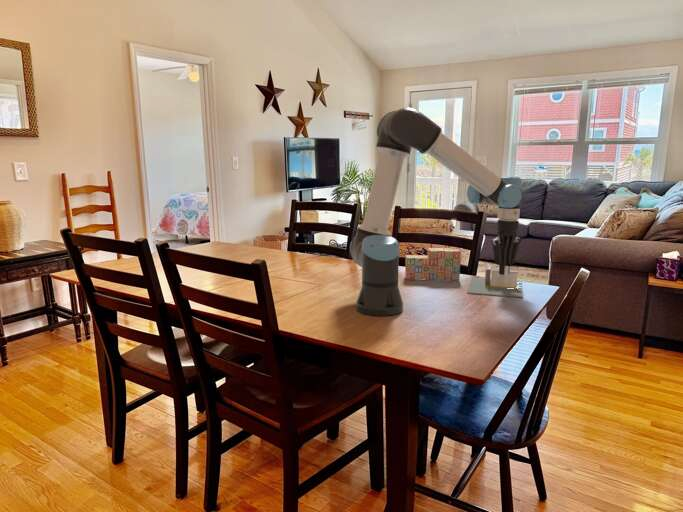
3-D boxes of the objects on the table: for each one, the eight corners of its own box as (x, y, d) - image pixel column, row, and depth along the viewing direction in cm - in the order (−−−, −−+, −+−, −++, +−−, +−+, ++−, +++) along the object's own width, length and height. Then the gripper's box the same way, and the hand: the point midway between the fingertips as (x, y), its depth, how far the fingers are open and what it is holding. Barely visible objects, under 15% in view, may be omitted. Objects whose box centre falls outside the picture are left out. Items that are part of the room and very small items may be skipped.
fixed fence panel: (489, 286, 183) (490, 269, 182) (485, 285, 183) (486, 268, 182) (490, 280, 191) (491, 264, 190) (486, 280, 192) (487, 263, 191)
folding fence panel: (516, 286, 180) (517, 270, 178) (516, 287, 178) (517, 271, 177) (484, 284, 183) (485, 268, 182) (484, 285, 181) (485, 269, 180)
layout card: (522, 298, 167) (523, 296, 167) (467, 293, 173) (467, 292, 173) (521, 282, 188) (521, 281, 188) (471, 278, 194) (471, 277, 194)
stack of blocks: (406, 280, 192) (407, 250, 190) (405, 276, 198) (405, 247, 196) (459, 281, 191) (461, 250, 189) (456, 277, 198) (458, 248, 195)
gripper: (502, 221, 167) (497, 286, 171) (529, 220, 172) (523, 283, 177) (487, 219, 173) (482, 282, 178) (513, 218, 179) (508, 278, 184)
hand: (503, 282), depth 177 cm, fingers closed
